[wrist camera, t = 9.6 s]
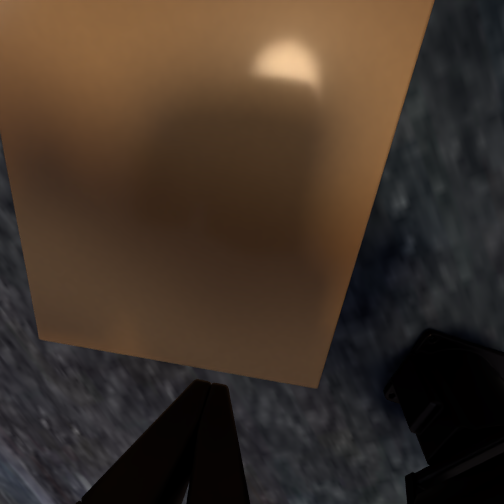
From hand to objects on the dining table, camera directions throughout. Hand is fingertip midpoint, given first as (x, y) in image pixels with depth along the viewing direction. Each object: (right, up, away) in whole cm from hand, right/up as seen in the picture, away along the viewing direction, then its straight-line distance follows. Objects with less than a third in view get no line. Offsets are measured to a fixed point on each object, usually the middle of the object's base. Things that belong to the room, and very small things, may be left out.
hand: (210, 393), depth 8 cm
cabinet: (-1, +8, +10) cm, 13 cm away
